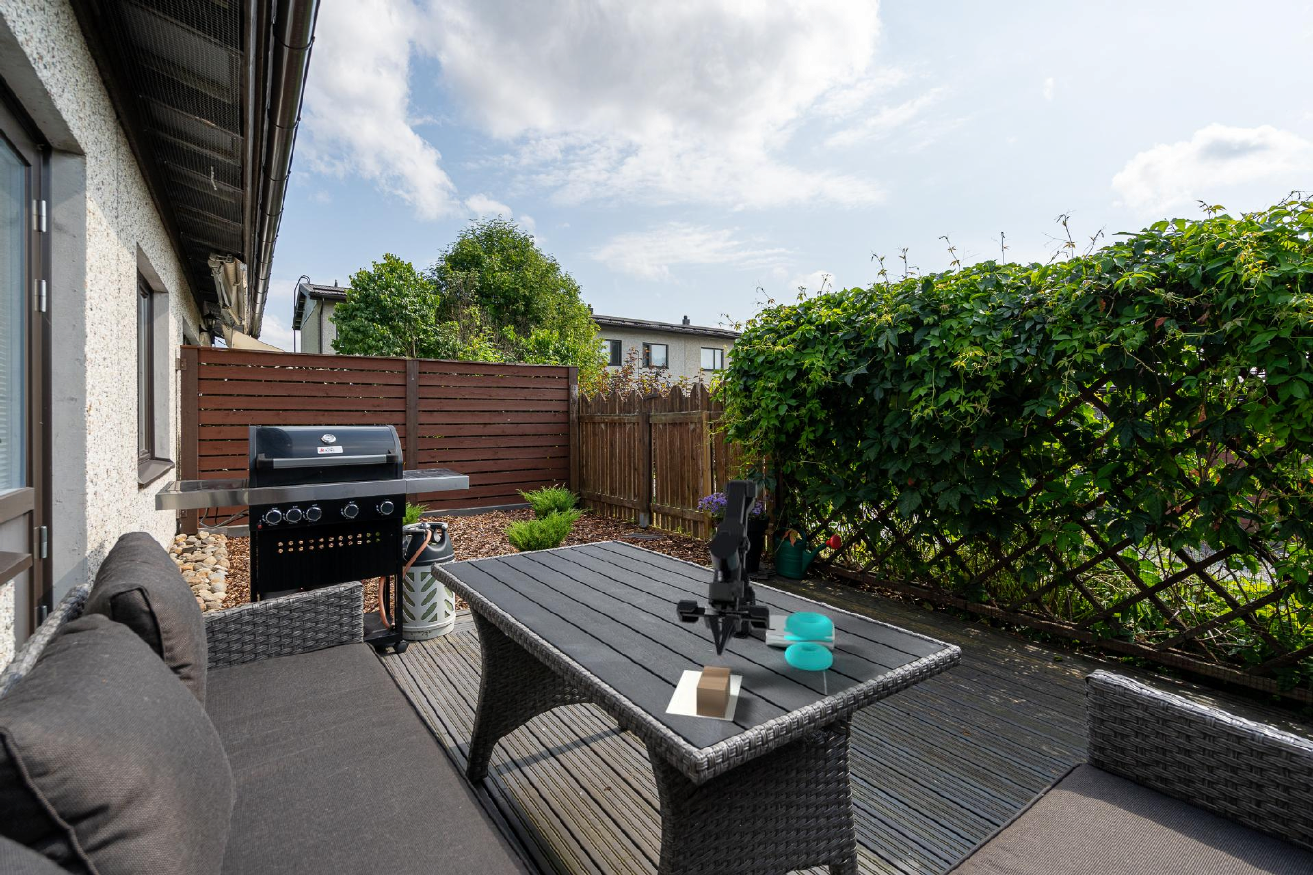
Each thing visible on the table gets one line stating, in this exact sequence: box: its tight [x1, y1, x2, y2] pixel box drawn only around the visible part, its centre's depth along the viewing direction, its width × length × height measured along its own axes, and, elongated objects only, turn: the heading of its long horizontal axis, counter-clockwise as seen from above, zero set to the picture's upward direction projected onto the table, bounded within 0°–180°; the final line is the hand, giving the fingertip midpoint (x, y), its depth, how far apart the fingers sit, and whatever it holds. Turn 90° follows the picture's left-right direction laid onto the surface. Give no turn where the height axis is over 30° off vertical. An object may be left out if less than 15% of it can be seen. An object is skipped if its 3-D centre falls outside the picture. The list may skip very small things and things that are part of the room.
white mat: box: [665, 669, 743, 722], centre depth 116 cm, size 18×12×1 cm, turn 166°
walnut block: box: [696, 665, 732, 718], centre depth 111 cm, size 5×5×9 cm
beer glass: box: [765, 614, 836, 651], centre depth 139 cm, size 7×7×15 cm
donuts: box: [784, 611, 834, 672], centre depth 130 cm, size 10×10×10 cm
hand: (719, 655), depth 119 cm, fingers closed
